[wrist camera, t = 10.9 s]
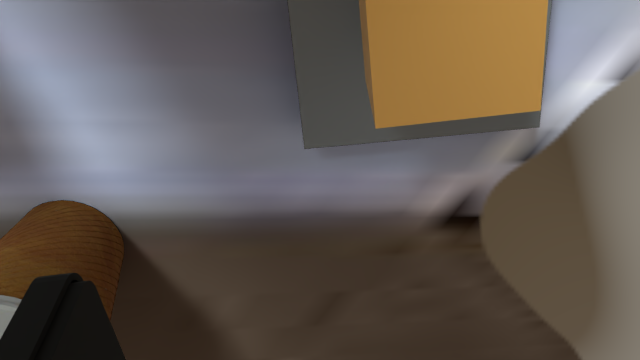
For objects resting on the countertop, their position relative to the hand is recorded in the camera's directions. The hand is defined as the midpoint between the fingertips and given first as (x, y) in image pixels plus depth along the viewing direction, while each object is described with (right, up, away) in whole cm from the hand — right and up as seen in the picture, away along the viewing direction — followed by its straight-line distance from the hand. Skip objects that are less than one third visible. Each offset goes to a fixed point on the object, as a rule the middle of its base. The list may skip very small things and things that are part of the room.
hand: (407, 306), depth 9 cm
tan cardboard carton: (+3, +9, +16) cm, 19 cm away
